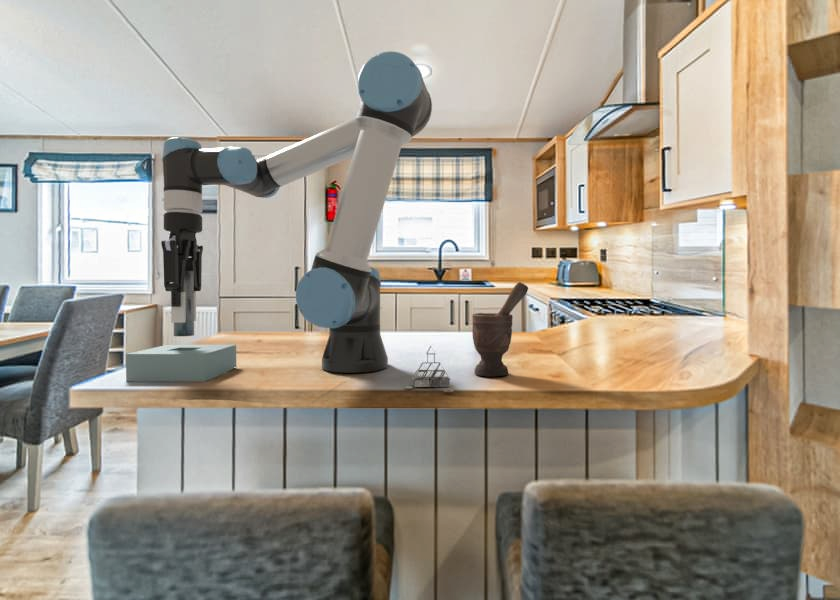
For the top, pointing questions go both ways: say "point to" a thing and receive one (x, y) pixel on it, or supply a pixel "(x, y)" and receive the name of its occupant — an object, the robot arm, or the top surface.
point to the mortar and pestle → (495, 335)
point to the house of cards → (430, 380)
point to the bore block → (180, 363)
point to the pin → (187, 307)
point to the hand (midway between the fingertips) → (184, 321)
